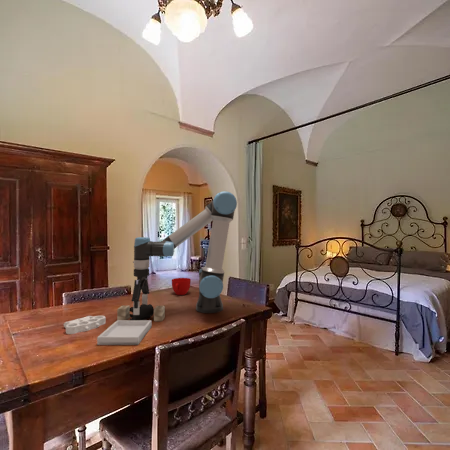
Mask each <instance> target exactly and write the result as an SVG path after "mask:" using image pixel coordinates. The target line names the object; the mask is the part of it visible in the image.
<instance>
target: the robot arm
mask: <svg viewBox="0 0 450 450" xmlns="http://www.w3.org/2000/svg"><path fill="white" fill-rule="evenodd" d="M237 201H238V200H237V198H236V197H235V195H234V194H233V193H232V192H230V191H227V190H224V191H220V192H218V193H216V195H215V196H214V198H213V199H212V200H211V201H210V203H209V204H207V205H206V206H205V208H204V209H203V210H202V211H201V212H200V213H198V214H197V215H196V216H194V217H193V218H191V219H190V220H188V221H187V222H186V223H184V224H183V225H181V226H180V227H179V228H177V229H176V230H175V231H174V232H172V233H171V234H169V235H168V236H166V237H165V238H164V239H162V240H161V241H153V240H152V241H151V239H150V237H146V236H145V237H144V236H141V237H140V236H139V237H138V236H137V237H136V238H134V245H133V250H134V251H133V261H132V263H133V276H134V277H136V279H134V285H133V289H132V290H133V291H132V297H131V302H133V306H132V307H133V313H132V315H139V310H140V305H143V304H146V305H148V301H149V300H148V298H149V297H148V296H149V294H150V287H149V279H148V278H149V275H150V262H151V261H150V257H166V258H167V257H168V258H169V257H173V256H174V253H175V249H176V248H177V247H179V246H180V245H181V244H183V243H184V242H185V241H187V240H188V239H190V238H191V237H192V236H194V235H195V234H196V233H198V232H199V231H201V230H202V229H203V228H204V227H206V226H207V225H209V224H210V223H211V222H212V225H211V230H210V237H209V243H208V248H207V255H206V261H205V266H204V267H202V268H200V269H198V270H199V272H198V298H197V301H196V304H195V311H196V312H198V313H203V314H215V313H220V312H222V311H223V310H224V304H223V301H222V298H221V294H222V292H223V289H224V277H225V270H223V264H224V258H225V253H226V247H227V242H228V241H227V240H228V234H229V229H230V228H229V227H230V223H231V222H232V221H234V216H235V211H236V208H237V206H238V204H237V203H238V202H237ZM141 293H142V295H141ZM140 297H141V298H140ZM140 299H141V302H140Z"/></svg>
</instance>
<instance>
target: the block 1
mask: <svg viewBox="0 0 450 450" xmlns="http://www.w3.org/2000/svg"><path fill="white" fill-rule="evenodd" d="M130 308H131V306H130V305H121V306H119V307H118V308H117V309H116V310H117V311H116V315H117V317H116V318H117V320H129V319H130V318H131V317H130V314H131V312H130V311H129V310H130ZM117 320H116V321H117Z"/></svg>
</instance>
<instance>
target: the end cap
mask: <svg viewBox="0 0 450 450" xmlns="http://www.w3.org/2000/svg"><path fill="white" fill-rule="evenodd" d="M154 308H155V307H154V306H153V304H151V303H150V304H147V305H146V304H143V305H142V304H140V310H139V315H133V306H130V310H129V311H130V317H129V320H147V319H149V318H152V317H153V316H154Z"/></svg>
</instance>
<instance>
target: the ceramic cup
mask: <svg viewBox="0 0 450 450" xmlns="http://www.w3.org/2000/svg"><path fill="white" fill-rule="evenodd" d="M191 280H192V279H191V278H189V277H175V278H173V279H171V288H172V290H173V292H174V293H175V295H177V296H185V295H186V294H188V292H189V290H190V287H191V282H192V281H191Z"/></svg>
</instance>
